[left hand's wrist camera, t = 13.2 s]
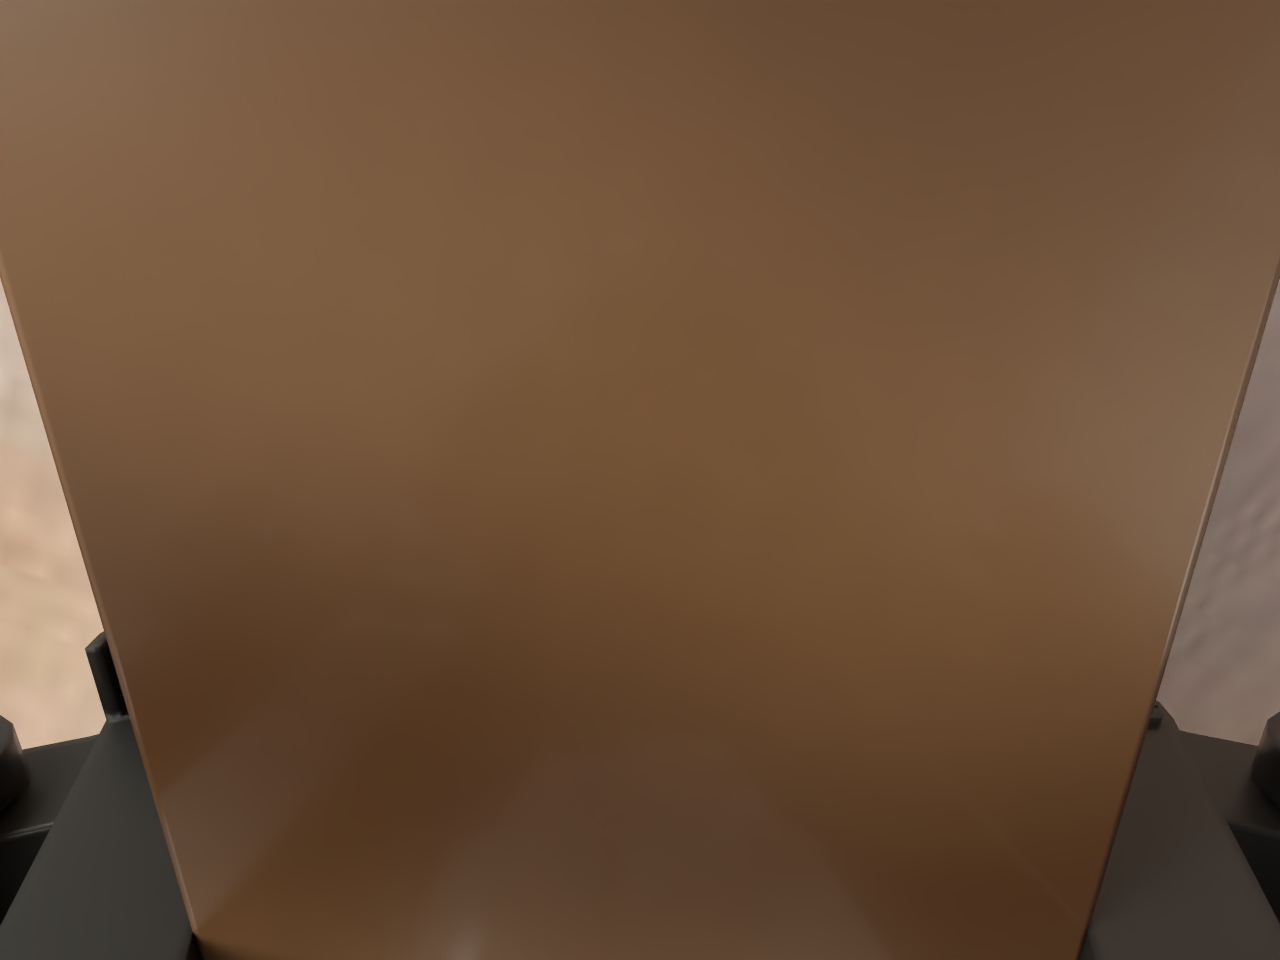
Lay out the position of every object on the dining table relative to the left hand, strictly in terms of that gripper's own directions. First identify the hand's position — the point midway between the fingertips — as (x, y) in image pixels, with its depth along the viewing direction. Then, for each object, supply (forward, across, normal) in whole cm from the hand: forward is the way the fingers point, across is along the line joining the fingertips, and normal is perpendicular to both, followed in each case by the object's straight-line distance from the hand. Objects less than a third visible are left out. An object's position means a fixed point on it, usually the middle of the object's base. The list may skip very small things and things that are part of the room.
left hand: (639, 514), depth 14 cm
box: (+2, 0, -8) cm, 8 cm away
